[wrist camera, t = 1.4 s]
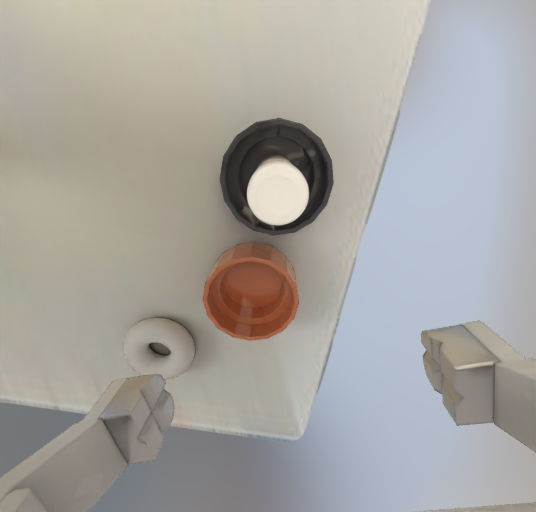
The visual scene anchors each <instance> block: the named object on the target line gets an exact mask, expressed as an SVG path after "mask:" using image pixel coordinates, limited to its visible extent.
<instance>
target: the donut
mask: <svg viewBox="0 0 536 512" xmlns="http://www.w3.org/2000/svg"><path fill="white" fill-rule="evenodd" d="M154 342H155V343H161V344H164V345H165V346H167V347H168V348H169V350H170V352H171V354H170V355H159V354H156V353H155V352H153V351H152V350H151V349H150V346H149V344H150V343H154ZM123 347H124V355H125V357H126V359H127V361H128V363H129V364H130V365H131V366H132V368H133V369H134V370H135V371H137V372H138V373H140V374H142V375H143V376H144V375H152V374H160V375H162V377H163V379H171V378H174V377H177V376H179V375H181V374H182V373H184V372H185V371H186V370H187V369H188V368H189V367H190V365H191V363H192V361H193V359H194V356H195V345H194V342H193V340H192V337H191V335H190V334H189V333H188V331H187V330H186V329H185V328H184V327H183V326H181V325H180V324H178V323H177V322H174V321H172V320H169V319H165V318H151V319H145V320H143V321H141V322H139V323H137V324H135V325H134V326H133V327H132V328H131V329H130V331H129V332H128V333H127V335H126V337H125V340H124V344H123Z"/></svg>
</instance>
